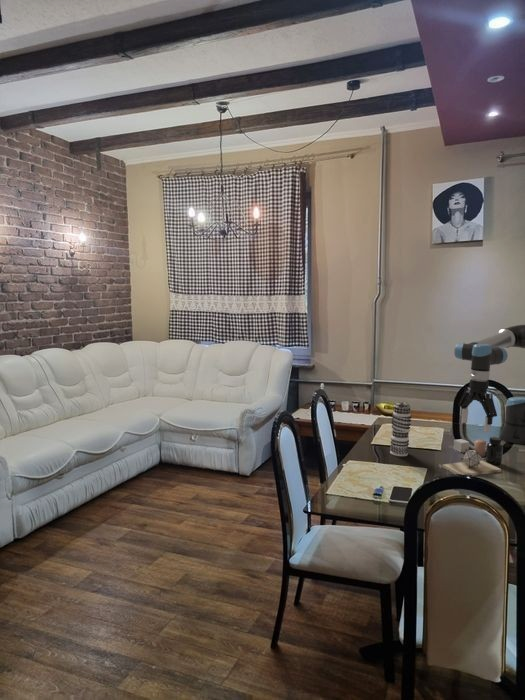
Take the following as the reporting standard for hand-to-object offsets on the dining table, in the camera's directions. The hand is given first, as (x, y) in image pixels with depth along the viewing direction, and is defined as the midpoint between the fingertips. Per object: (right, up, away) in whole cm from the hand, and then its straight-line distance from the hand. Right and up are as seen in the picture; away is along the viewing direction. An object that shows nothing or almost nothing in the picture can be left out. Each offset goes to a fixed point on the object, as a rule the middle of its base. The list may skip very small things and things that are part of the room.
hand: (475, 426), depth 217 cm
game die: (-1, -18, +3) cm, 19 cm away
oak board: (-1, -19, +3) cm, 20 cm away
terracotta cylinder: (+11, -17, +22) cm, 30 cm away
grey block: (+5, -16, +28) cm, 33 cm away
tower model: (-28, -16, +21) cm, 39 cm away
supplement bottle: (+13, -19, +11) cm, 25 cm away
